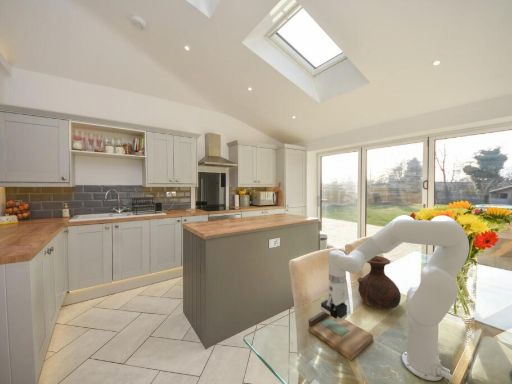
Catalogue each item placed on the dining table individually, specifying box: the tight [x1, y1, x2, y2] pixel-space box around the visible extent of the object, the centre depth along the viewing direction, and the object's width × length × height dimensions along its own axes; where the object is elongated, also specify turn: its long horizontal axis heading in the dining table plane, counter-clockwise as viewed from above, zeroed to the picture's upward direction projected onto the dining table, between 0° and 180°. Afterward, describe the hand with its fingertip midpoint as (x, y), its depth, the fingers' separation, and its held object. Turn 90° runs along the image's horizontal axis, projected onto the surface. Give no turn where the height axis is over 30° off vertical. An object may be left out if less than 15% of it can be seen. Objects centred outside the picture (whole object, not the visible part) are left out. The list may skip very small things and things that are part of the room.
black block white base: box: [320, 299, 348, 322], centre depth 103 cm, size 11×5×6 cm, turn 36°
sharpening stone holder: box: [308, 310, 374, 361], centre depth 101 cm, size 22×18×6 cm
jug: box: [357, 255, 402, 311], centre depth 124 cm, size 22×22×30 cm
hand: (337, 314), depth 101 cm, fingers closed on black block white base, 5 cm apart
